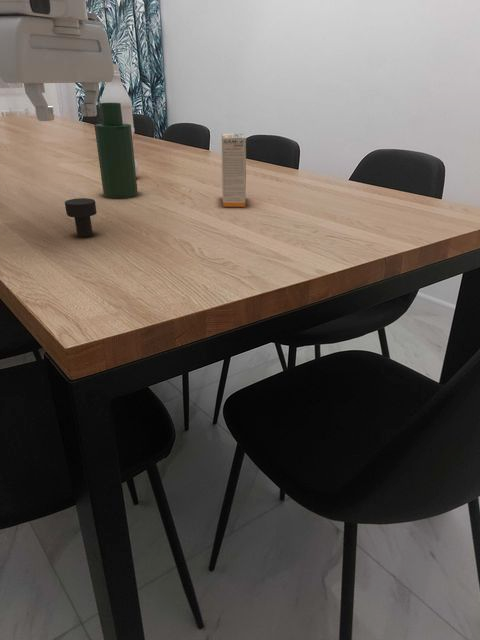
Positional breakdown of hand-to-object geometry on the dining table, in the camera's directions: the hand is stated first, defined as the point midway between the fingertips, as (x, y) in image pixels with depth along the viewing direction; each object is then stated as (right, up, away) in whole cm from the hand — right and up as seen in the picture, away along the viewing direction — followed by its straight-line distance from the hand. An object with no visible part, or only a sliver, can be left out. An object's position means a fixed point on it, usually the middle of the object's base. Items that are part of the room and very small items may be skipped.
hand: (69, 118), depth 74 cm
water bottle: (-6, +9, +52) cm, 54 cm away
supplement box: (+22, -3, +31) cm, 39 cm away
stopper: (-1, -15, +9) cm, 18 cm away
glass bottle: (-3, 0, +36) cm, 36 cm away
